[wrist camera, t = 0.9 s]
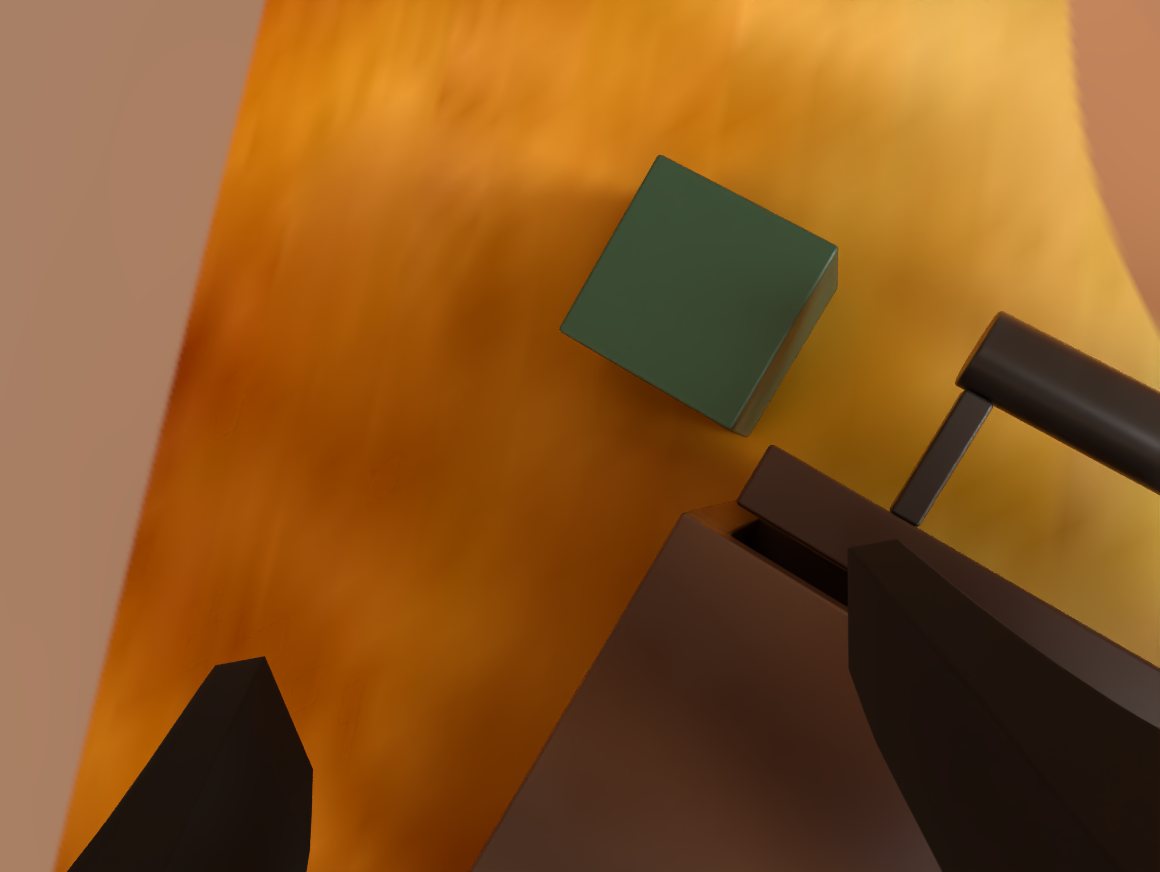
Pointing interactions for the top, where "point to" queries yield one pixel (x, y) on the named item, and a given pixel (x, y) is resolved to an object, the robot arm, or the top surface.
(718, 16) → the top surface
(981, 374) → the drawer
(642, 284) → the block
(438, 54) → the top surface
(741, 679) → the cabinet
